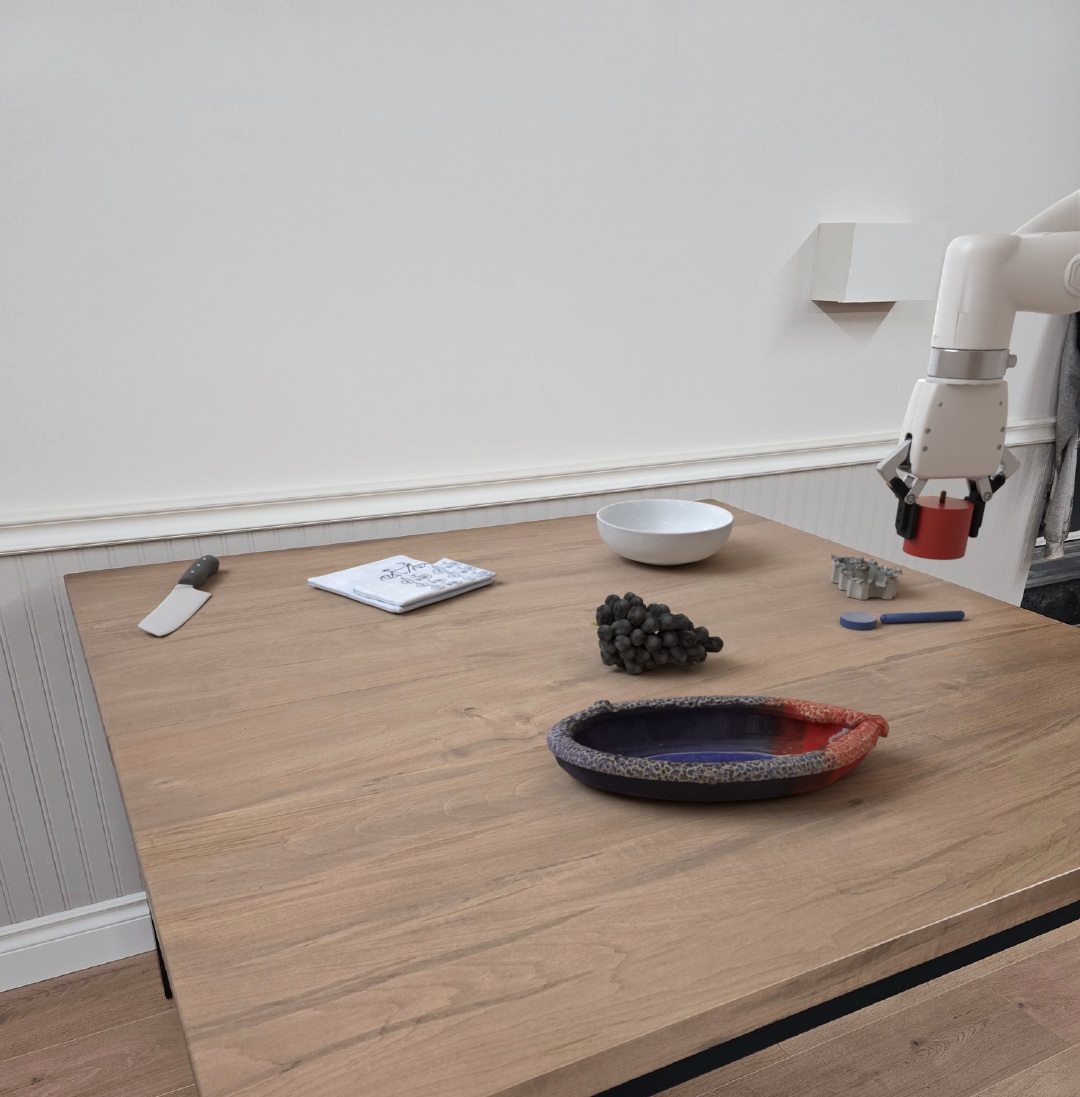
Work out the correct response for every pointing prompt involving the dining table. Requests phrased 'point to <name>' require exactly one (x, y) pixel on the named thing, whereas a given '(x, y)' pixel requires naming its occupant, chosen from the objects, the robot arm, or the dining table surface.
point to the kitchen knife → (181, 599)
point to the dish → (713, 746)
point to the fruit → (649, 635)
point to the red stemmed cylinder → (941, 528)
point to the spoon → (894, 618)
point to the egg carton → (864, 578)
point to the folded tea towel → (404, 582)
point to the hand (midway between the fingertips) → (936, 534)
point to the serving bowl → (664, 530)
